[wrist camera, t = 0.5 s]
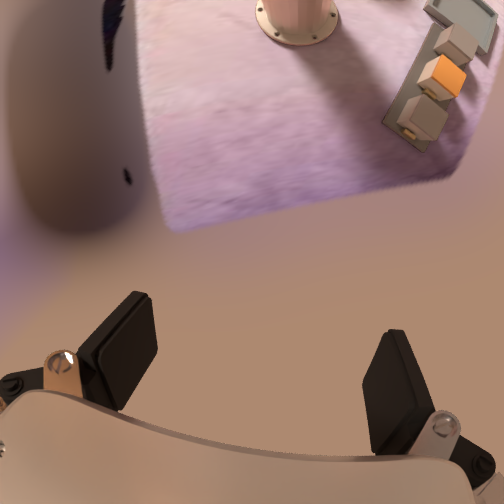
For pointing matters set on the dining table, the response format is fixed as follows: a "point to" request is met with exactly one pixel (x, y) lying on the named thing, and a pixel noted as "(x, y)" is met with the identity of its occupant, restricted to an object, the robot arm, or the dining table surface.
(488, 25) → the tray
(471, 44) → the block
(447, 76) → the block
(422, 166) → the dining table surface
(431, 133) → the fuse
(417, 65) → the fuse panel
